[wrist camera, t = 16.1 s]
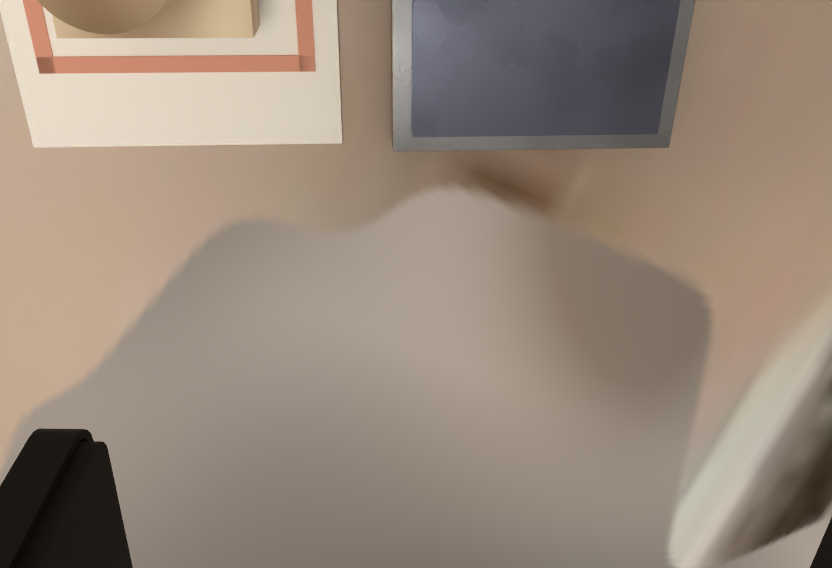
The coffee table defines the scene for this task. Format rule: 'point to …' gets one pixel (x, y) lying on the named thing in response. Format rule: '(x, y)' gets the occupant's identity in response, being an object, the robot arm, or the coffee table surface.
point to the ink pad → (536, 73)
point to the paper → (181, 82)
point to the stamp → (154, 18)
